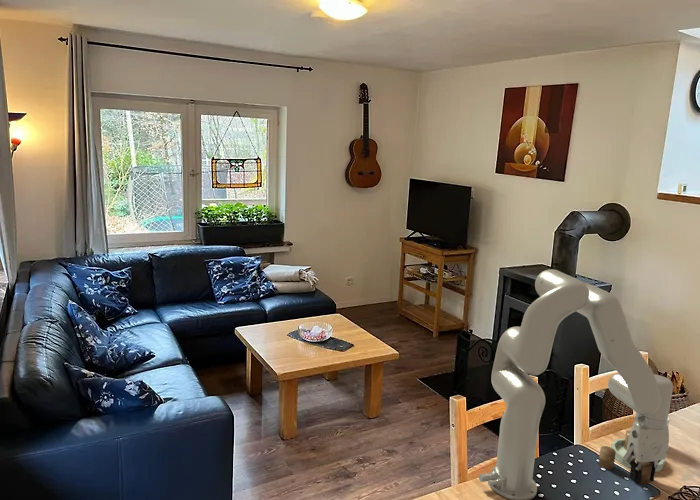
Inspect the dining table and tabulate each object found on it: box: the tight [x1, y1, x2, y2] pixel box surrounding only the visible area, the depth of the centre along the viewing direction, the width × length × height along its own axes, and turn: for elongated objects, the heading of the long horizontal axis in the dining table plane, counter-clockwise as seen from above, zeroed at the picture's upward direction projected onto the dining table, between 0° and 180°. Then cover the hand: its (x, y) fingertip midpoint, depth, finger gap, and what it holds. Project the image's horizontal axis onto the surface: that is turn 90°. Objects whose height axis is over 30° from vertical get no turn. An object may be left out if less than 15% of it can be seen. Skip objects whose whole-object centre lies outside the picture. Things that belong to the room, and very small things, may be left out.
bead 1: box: [597, 445, 616, 470], centre depth 154 cm, size 4×4×5 cm
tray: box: [610, 430, 667, 473], centre depth 158 cm, size 14×14×6 cm
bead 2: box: [636, 460, 652, 485], centre depth 148 cm, size 4×4×5 cm
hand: (641, 478), depth 149 cm, fingers closed on bead 2, 4 cm apart
